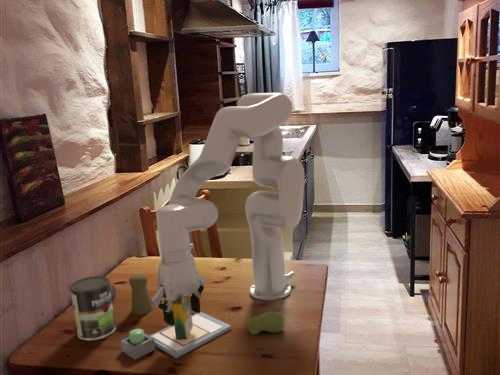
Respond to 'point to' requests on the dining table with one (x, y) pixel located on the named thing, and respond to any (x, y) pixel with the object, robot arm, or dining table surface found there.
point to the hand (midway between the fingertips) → (183, 317)
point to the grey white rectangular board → (190, 335)
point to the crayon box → (182, 317)
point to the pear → (266, 323)
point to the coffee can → (93, 308)
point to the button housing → (138, 347)
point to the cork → (140, 294)
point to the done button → (136, 336)
